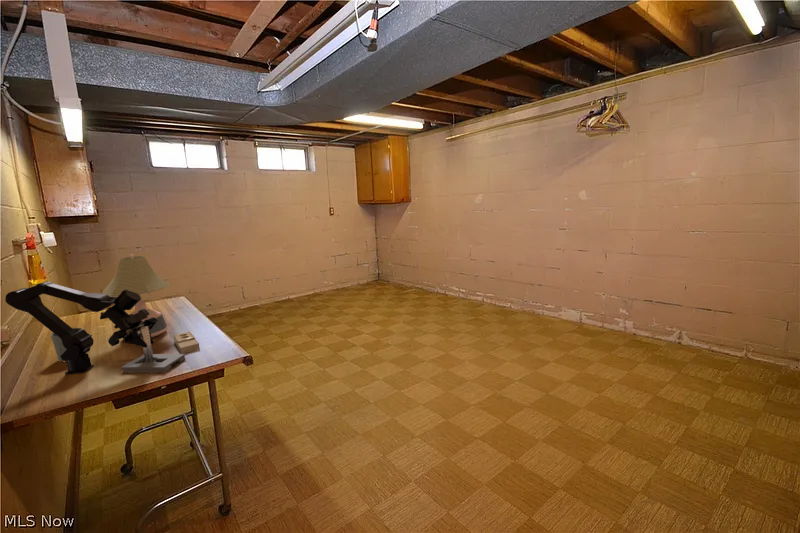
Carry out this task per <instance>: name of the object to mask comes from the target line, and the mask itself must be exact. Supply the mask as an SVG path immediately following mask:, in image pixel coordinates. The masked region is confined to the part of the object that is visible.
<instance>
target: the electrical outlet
mask: <svg viewBox="0 0 800 533" xmlns="http://www.w3.org/2000/svg"><path fill="white" fill-rule="evenodd" d="M173 342H174V345H175V346H176V347H178V348H177V349H178V351H179V352H180V354H186V353H190V351H191V352H194V351H198V350H200V348H201V347H200V343H199V342H198V340H197V339H196V337H195V336H194V334H193V333H192V332H191V331H187V332H182V333H177V334H174V335H173ZM197 349H198V350H197ZM193 350H194V351H193Z"/></svg>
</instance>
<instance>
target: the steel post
mask: <svg viewBox="0 0 800 533" xmlns="http://www.w3.org/2000/svg"><path fill="white" fill-rule="evenodd" d="M140 334H141V339H142V340H143V341H144V342H145V343H146V344H147V347H146V348H145V347H142V349H143V350H142V351H143V355H144V356H145V363H143V364H147V363H149V362H157V361H156V360H154V358H153V354H154V353H153V348H152V344H151V341H150V335H149V329H148V326H145V327H141V328H140Z"/></svg>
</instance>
